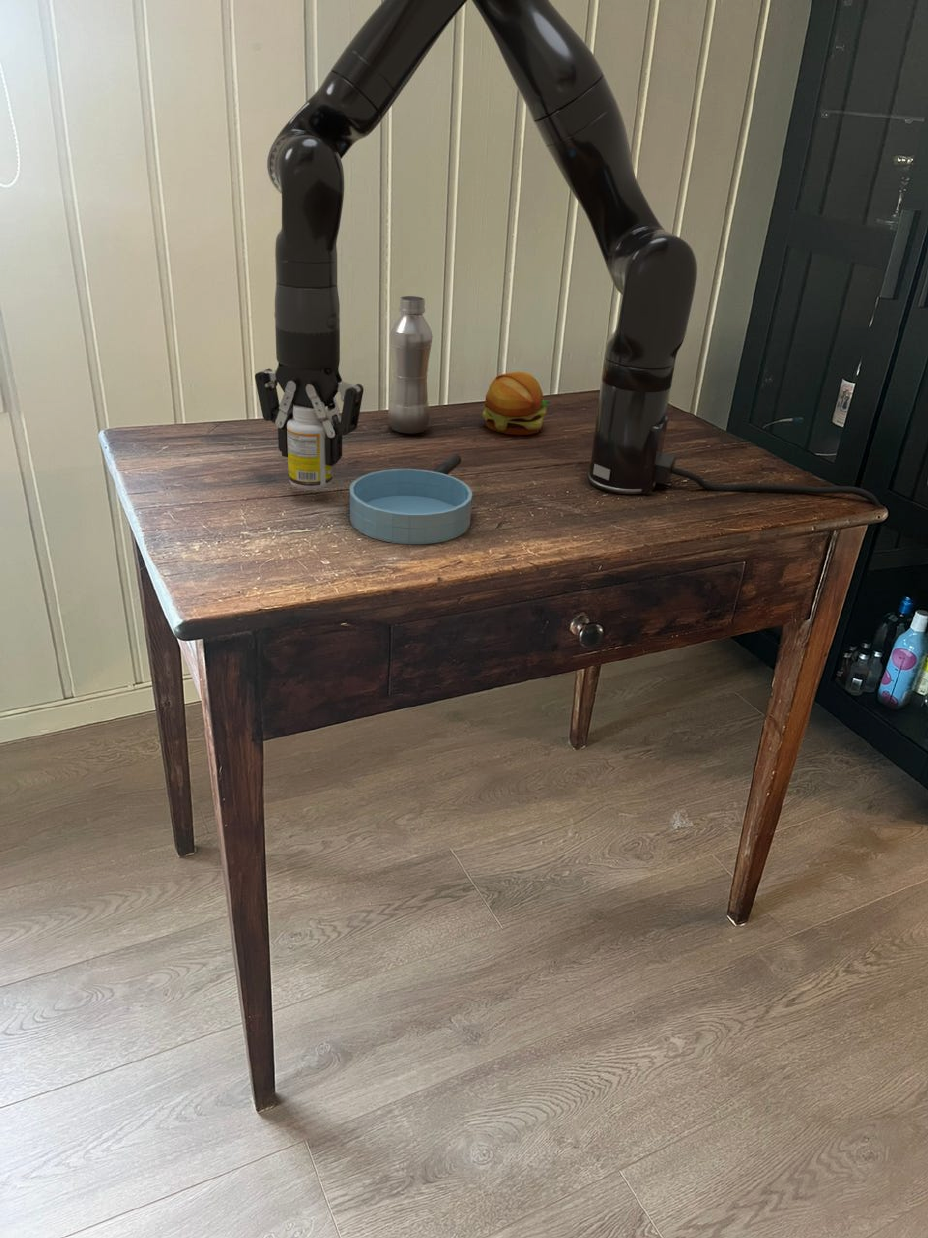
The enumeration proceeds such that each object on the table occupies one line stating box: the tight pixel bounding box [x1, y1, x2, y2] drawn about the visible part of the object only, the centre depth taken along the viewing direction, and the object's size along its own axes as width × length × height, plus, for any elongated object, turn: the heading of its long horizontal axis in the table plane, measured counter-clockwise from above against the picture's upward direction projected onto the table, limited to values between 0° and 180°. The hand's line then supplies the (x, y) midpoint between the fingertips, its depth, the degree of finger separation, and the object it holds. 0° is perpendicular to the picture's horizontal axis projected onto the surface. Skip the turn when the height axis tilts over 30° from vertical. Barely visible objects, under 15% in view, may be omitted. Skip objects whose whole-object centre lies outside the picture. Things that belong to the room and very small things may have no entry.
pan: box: [348, 468, 473, 545], centre depth 117 cm, size 15×15×4 cm
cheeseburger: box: [482, 371, 550, 436], centre depth 150 cm, size 10×11×10 cm
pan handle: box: [432, 453, 462, 475], centre depth 126 cm, size 9×2×2 cm, turn 159°
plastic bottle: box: [387, 295, 434, 435], centre depth 143 cm, size 6×7×20 cm
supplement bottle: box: [287, 405, 334, 491], centre depth 119 cm, size 6×6×10 cm
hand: (310, 458), depth 120 cm, fingers closed on supplement bottle, 5 cm apart
